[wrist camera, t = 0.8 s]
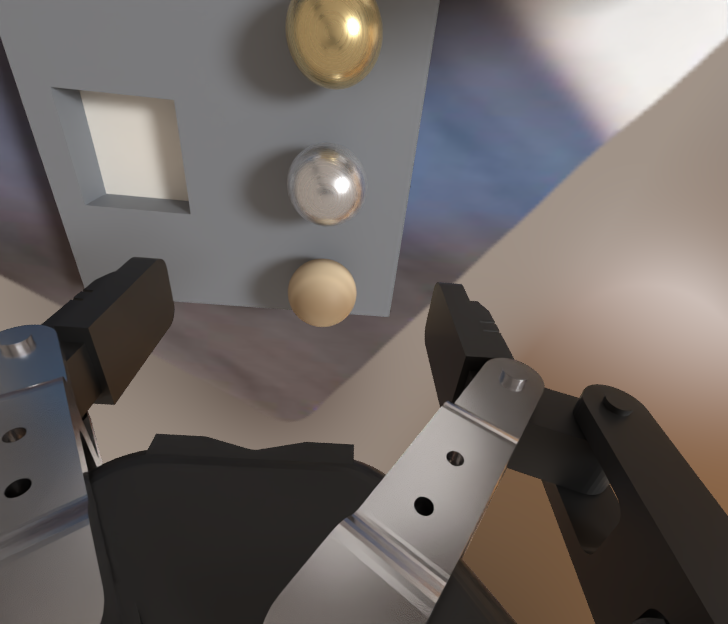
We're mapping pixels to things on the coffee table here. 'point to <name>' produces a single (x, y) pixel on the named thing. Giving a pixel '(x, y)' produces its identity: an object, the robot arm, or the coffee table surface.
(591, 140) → the coffee table surface
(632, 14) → the coffee table surface
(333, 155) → the steel ball
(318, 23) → the brass ball
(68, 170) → the board
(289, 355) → the coffee table surface
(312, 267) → the oak ball
